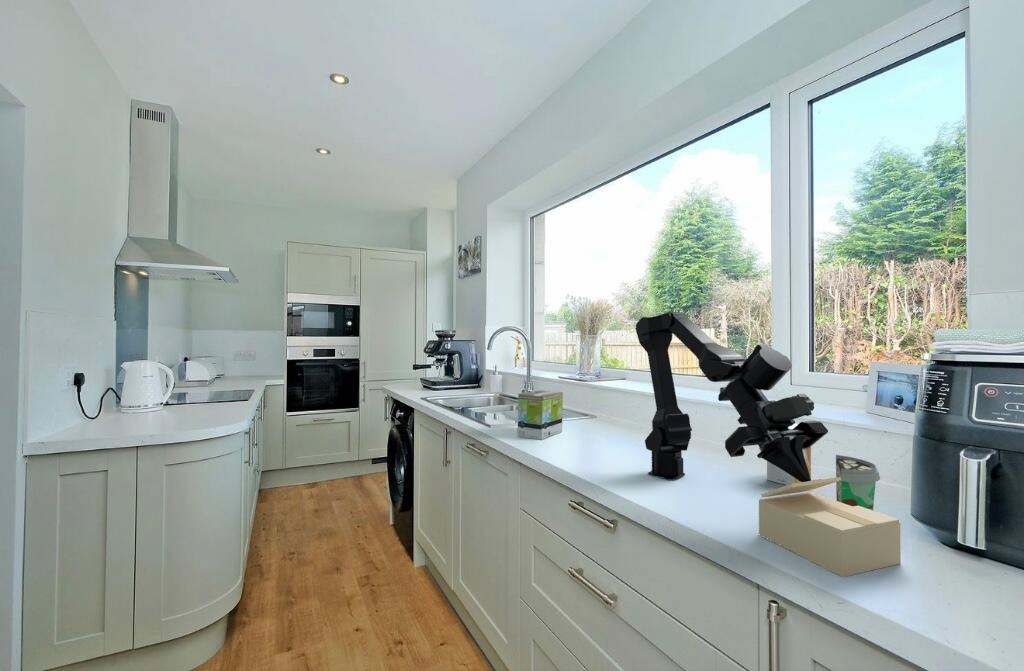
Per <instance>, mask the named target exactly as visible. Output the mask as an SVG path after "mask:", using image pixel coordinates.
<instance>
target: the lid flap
mask: <svg viewBox="0 0 1024 671" xmlns="http://www.w3.org/2000/svg"><path fill="white" fill-rule="evenodd" d="M841 480H842V479H841V477H837V478H836V477H829V478H824V479H822V478H820V479H811V481H808V482H800V483H793V484H789V485H784V486H780V487H778V488H775V489H772V490H769V491H767V492H764V493H762V494H760V496H761V498H763V499H764V498H770V497H775V496H776V497H777V496H784V495H791V494H796V493H797V494H798V493H801V492H802V493H805V492H809V491H810V492H811V491H812V490H816V489H819V488H821V487H826V486H828V485H831V484H834V483H836V482H838V481H841Z"/></svg>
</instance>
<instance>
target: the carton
mask: <svg viewBox="0 0 1024 671" xmlns="http://www.w3.org/2000/svg"><path fill="white" fill-rule="evenodd" d="M759 534H760V535H761V536H760V535H759ZM758 535H759V536H760V537H762V536H764V537H765V538H764V537H763V538H764V539H766V538H768V539H769V540H768V539H767V540H768V541H770V540H771V541H770V542H772V541H773V542H772V543H774V542H775V543H774V544H776V543H777V544H776V545H778V544H780V545H781V546H780V545H779V546H780V547H782V546H783V547H782V548H784V547H785V549H786V548H787V549H786V550H788V549H789V550H788V551H790V550H791V551H790V552H792V551H793V552H792V553H794V552H795V553H794V554H796V553H797V554H796V555H798V556H800V557H802V558H804V559H806V560H808V561H809V562H812V563H814V564H816V565H817V564H818V566H819V567H821V568H824V569H826V570H828V571H829V572H831V573H833V574H835V575H837V576H839V577H841V578H845V577H849V576H853V575H857V574H860V573H866V572H870V571H875V570H879V569H883V568H887V567H891V566H895V565H900V564H901V558H902V557H901V556H902V555H901V554H902V553H901V550H902V549H901V522H900V519H898V518H896V517H893V516H890V515H887V514H884V513H882V512H878V511H875V510H874V509H873V510H870V509H867V508H864V507H861V506H850V505H847V504H844V503H841V502H838V501H837V500H835V499H833V498H830V497H827V496H823V495H821V494H818V493H815V492H813V491H810V492H809V491H807V492H802V493H801V492H800V493H797V494H796V493H793V494H786V495H780V496H776V497H775V496H773V497H766V498H763V499H758Z"/></svg>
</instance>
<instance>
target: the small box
mask: <svg viewBox="0 0 1024 671" xmlns="http://www.w3.org/2000/svg"><path fill="white" fill-rule="evenodd" d="M798 424H799V423H794V424H793V425H792V426H789V427H788V429H789V430H792V429H793V428H795V427H796V426H797V425H798ZM789 430H788V431H789ZM803 455H804V459H805V462H806V465H807V468H808V471H809V474H810V478H811V479H812V474H811V473H812V462H811V461H812V446H811V447H809V448H807V449H803ZM766 480H767V481H770V482H774V483H778V484H781V485H784V486H786V485H789V484H793V483H800V481H799V480H797V479H796V478H794V477H793V476H791V475H789V474H788V473H786V472H785V471H783V470H782V469H780V468H778V467H777V466H775V465H773V464H771V463H770V462H768V461H766Z"/></svg>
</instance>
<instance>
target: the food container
mask: <svg viewBox="0 0 1024 671" xmlns="http://www.w3.org/2000/svg"><path fill="white" fill-rule="evenodd" d="M835 470H836V471H835V478H837V477H841V479H842V480H841V481H838V482H835V483H836V484H835V485H836V486H835V487H836V488H835V489H836V491H835V492H836V501H838V502H841V503H844V504H847V505H850V506H861V507H864V508H867V509H870V510H873V511H874V505H875V491H876V482H878V481H880V480H881V476H880V473H879V470H878V468H877V466H876V464H874V463H873V462H871V461H867V460H865V459H861V458H857V457H854V456H853V457H852V456H847V455H841V454H836V455H835Z"/></svg>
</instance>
